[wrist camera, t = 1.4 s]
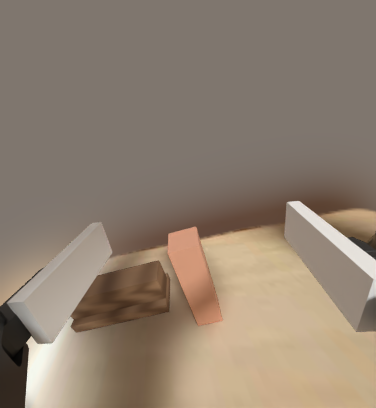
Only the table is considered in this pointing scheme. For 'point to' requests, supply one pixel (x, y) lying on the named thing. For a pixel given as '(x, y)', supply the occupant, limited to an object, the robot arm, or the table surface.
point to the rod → (194, 275)
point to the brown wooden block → (123, 297)
